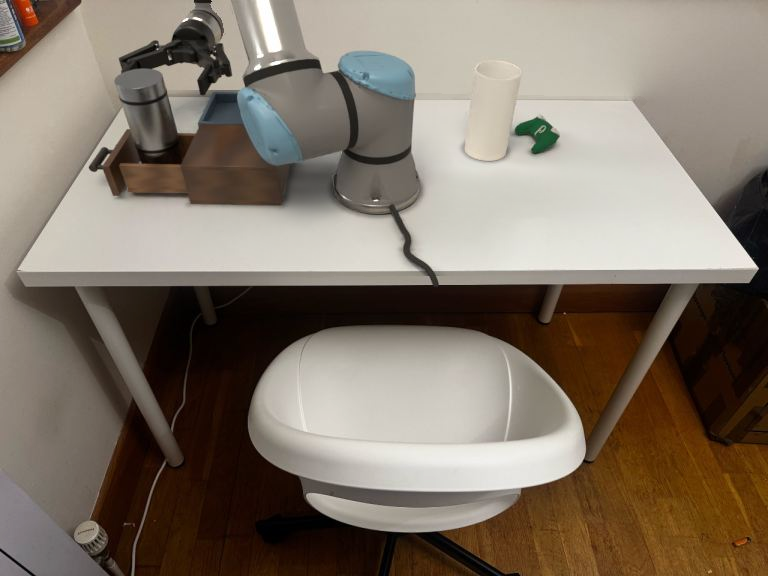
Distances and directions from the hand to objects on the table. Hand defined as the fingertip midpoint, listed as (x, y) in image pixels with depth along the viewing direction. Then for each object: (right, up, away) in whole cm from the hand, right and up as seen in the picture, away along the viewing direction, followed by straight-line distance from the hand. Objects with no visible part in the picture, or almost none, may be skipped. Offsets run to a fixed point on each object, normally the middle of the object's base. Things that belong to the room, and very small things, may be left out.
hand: (161, 86), depth 97 cm
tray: (+8, +1, +21) cm, 23 cm away
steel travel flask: (0, -14, +3) cm, 14 cm away
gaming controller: (+69, -5, +17) cm, 71 cm away
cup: (+58, -8, +14) cm, 60 cm away
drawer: (-3, -15, +4) cm, 15 cm away
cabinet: (+13, -16, +5) cm, 21 cm away
